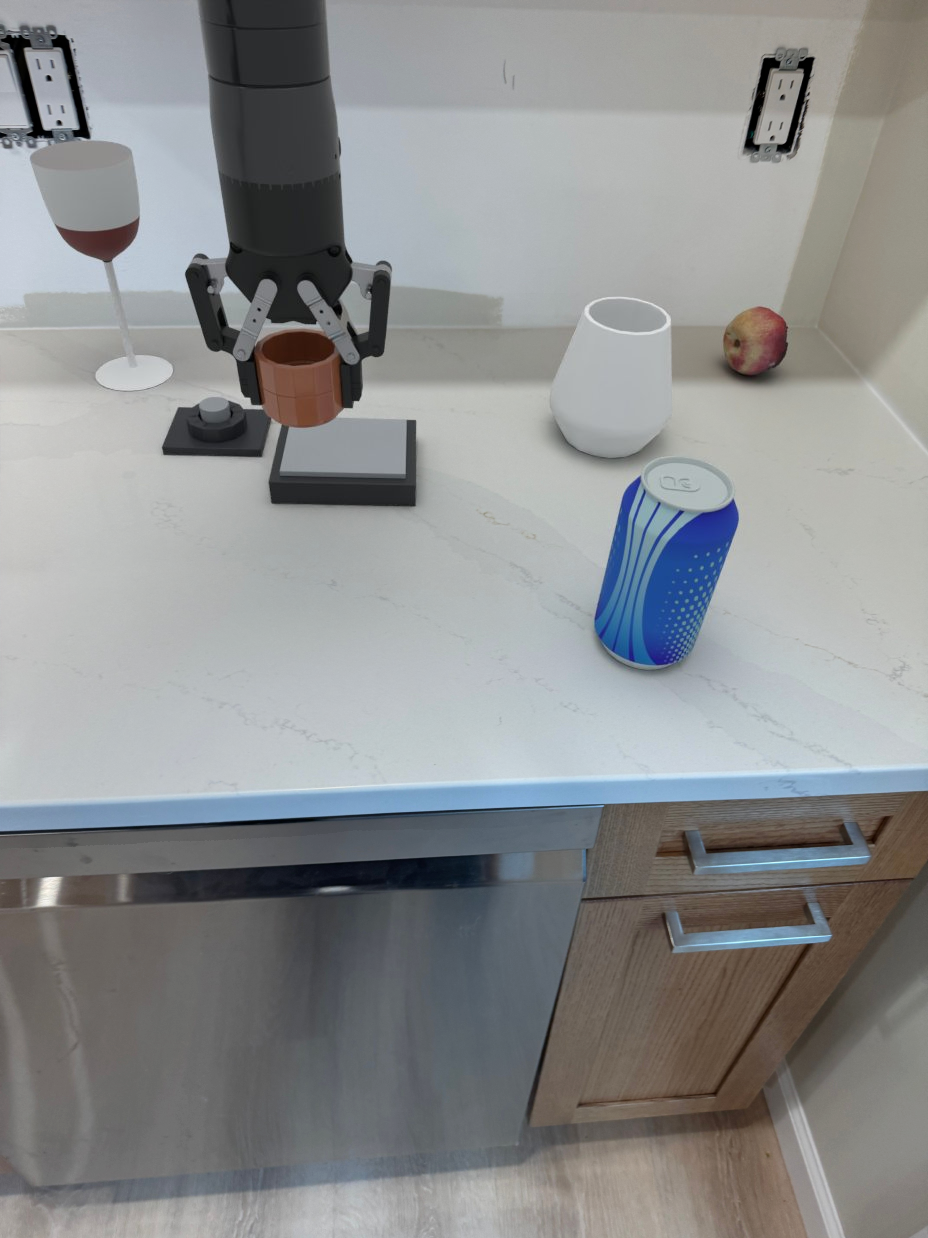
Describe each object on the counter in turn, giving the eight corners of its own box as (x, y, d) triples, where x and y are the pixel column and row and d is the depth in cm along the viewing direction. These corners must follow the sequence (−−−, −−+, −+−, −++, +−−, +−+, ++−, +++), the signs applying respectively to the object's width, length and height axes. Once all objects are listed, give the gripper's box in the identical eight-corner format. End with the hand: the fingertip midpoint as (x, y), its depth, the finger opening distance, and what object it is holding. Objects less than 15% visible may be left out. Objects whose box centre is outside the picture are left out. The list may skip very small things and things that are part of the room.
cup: (529, 450, 89) (545, 326, 79) (561, 394, 98) (579, 277, 88) (651, 481, 86) (683, 356, 76) (673, 419, 95) (704, 301, 85)
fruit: (713, 354, 108) (730, 293, 102) (772, 361, 107) (793, 300, 102) (718, 382, 102) (736, 320, 96) (780, 390, 102) (802, 327, 96)
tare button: (199, 424, 85) (196, 410, 84) (204, 409, 87) (201, 396, 86) (228, 424, 85) (226, 411, 84) (233, 410, 87) (230, 396, 86)
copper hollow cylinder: (257, 430, 61) (247, 367, 57) (270, 387, 65) (262, 326, 62) (341, 432, 61) (337, 370, 57) (348, 389, 65) (345, 329, 62)
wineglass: (76, 387, 93) (9, 164, 77) (117, 348, 100) (63, 136, 84) (153, 398, 92) (101, 174, 76) (189, 357, 99) (148, 145, 83)
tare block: (163, 454, 84) (158, 433, 83) (179, 413, 90) (175, 393, 88) (261, 456, 85) (258, 435, 83) (271, 416, 91) (269, 396, 89)
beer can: (631, 591, 73) (673, 435, 62) (711, 642, 69) (771, 485, 58) (570, 636, 69) (604, 476, 57) (652, 693, 65) (705, 533, 53)
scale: (271, 503, 80) (267, 476, 77) (285, 436, 88) (282, 410, 86) (415, 506, 80) (415, 479, 78) (416, 439, 89) (416, 414, 87)
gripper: (145, 173, 48) (198, 425, 60) (392, 183, 48) (396, 431, 60) (175, 137, 53) (218, 374, 65) (397, 146, 54) (400, 380, 65)
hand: (304, 401), depth 62 cm, fingers closed on copper hollow cylinder, 6 cm apart
